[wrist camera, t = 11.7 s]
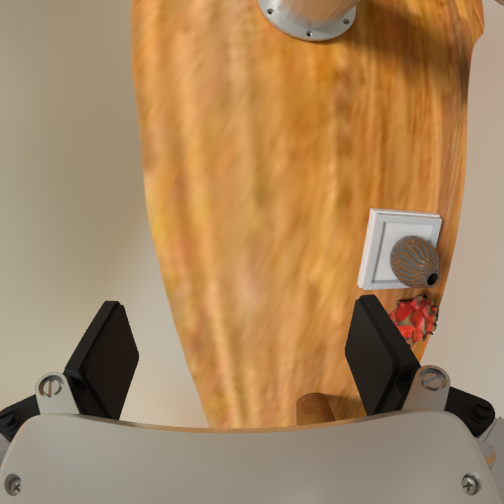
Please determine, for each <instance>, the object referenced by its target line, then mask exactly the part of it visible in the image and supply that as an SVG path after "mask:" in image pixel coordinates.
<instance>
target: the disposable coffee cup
mask: <svg viewBox="0 0 504 504" xmlns="http://www.w3.org/2000/svg"><path fill="white" fill-rule="evenodd" d="M333 421H336V420H335V417H334V415H333V413H332V411H331V408H330V406H329V404H328V402H327V399H326V397H325V396H324V395H323V394H320V393H311V394H307V395H305V396H303V397H301V398H300V399H299V400H298V401H297V426H300V425H310V424H318V423H326V422H333Z"/></svg>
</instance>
